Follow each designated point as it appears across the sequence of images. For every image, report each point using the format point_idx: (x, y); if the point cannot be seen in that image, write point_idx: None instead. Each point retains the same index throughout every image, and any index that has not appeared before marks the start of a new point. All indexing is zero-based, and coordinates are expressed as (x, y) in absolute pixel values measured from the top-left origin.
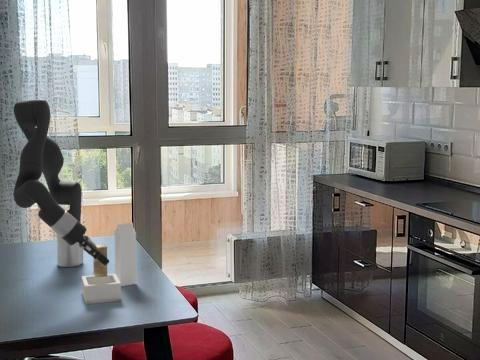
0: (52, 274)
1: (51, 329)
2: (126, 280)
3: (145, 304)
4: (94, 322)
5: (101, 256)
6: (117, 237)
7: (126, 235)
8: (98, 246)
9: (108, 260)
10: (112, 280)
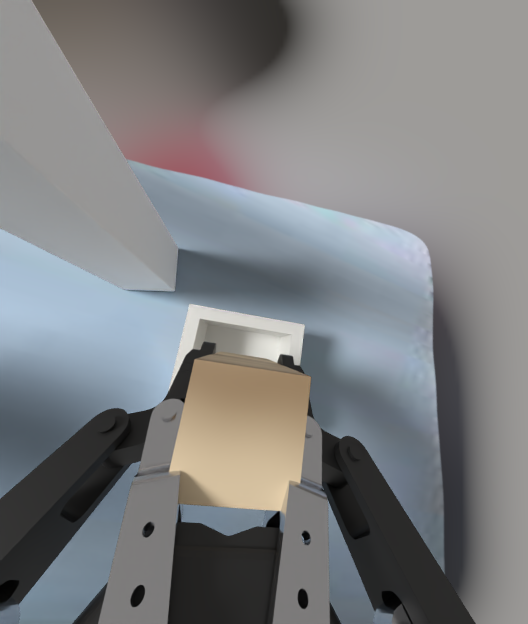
0: None
1: None
2: (171, 268)
3: (334, 288)
4: (402, 430)
5: (311, 415)
6: None
7: (6, 66)
8: (259, 456)
9: (292, 360)
10: (203, 321)
